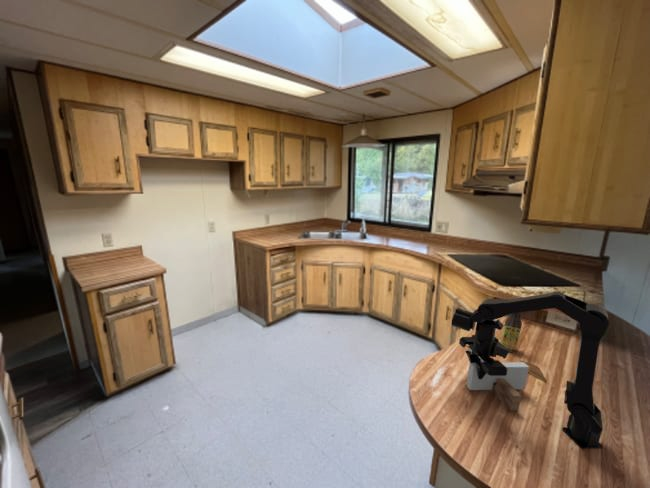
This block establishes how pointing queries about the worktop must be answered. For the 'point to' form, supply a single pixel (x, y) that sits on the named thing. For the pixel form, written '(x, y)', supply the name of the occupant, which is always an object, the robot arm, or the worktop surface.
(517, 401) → the slotted base plate
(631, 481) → the worktop surface
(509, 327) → the sauce bottle
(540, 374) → the shard
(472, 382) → the slotted top plate
